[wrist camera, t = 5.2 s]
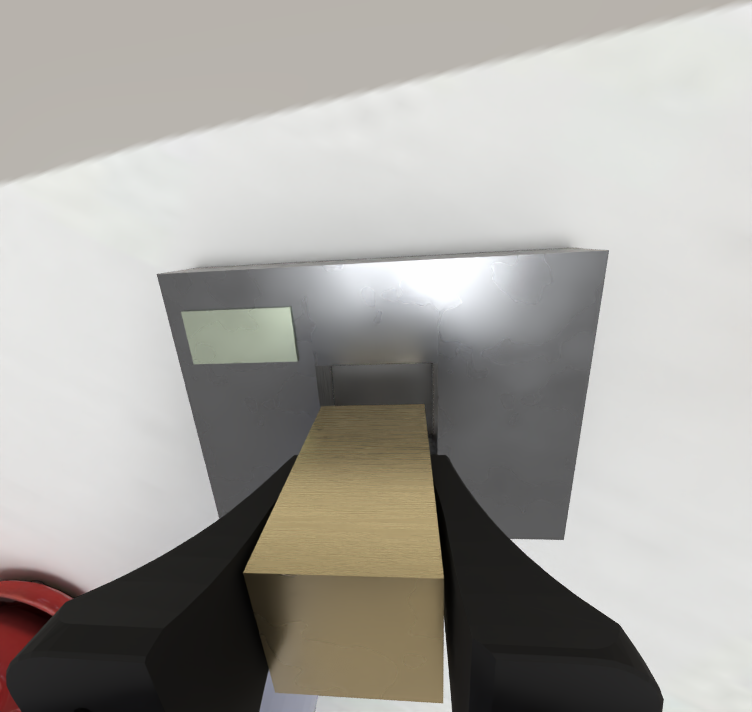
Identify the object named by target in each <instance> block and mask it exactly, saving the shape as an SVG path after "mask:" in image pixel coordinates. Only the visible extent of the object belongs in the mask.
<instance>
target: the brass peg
mask: <svg viewBox="0 0 752 712" xmlns="http://www.w3.org/2000/svg"><path fill="white" fill-rule="evenodd" d="M243 574H244V578H245V582H246V586H247V589H248V593H249V597H250V601H251V604H252V608H253V612H254V615H255V619H256V623H257V627H258V630H259V634H260V638H261V642H262V645H263V649H264V653H265V656H266V660H267V664H268V668H269V671H270V675H271V679H272V683H273V686H274V690H275V693H287V694H303V695H319V696H335V697H351V698H367V699H383V700H399V701H415V702H431V703H443V648H444V575H443V566H442V557H441V548H440V539H439V530H438V521H437V512H436V503H435V494H434V485H433V477H432V468H431V459H430V450H429V441H428V432H427V423H426V414H425V405H424V404H406V405H352V406H321V408H320V410H319V412H318V415H317V417H316V419H315V421H314V423H313V425H312V427H311V429H310V432H309V434H308V436H307V438H306V440H305V442H304V444H303V446H302V449H301V451H300V453H299V455H298V457H297V459H296V461H295V463H294V466H293V468H292V470H291V472H290V474H289V476H288V478H287V480H286V483H285V485H284V487H283V489H282V491H281V493H280V495H279V497H278V500H277V502H276V504H275V506H274V508H273V510H272V512H271V514H270V517H269V519H268V521H267V523H266V525H265V527H264V529H263V531H262V534H261V536H260V538H259V540H258V542H257V544H256V546H255V549H254V551H253V553H252V555H251V557H250V559H249V561H248V563H247V566H246V568H245V570H244V572H243Z"/></svg>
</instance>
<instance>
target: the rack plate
mask: <svg viewBox="0 0 752 712" xmlns="http://www.w3.org/2000/svg"><path fill="white" fill-rule="evenodd" d="M608 254H609V250H596V249H582V248H559V249H540V250H522V251H503V252H484V253H466V254H447V255H428V256H410V257H391V258H372V259H354V260H335V261H316V262H298V263H279V264H260V265H242V266H223V267H204V268H193V269H187V270H180V271H174V272H167V273H161V274H157V277H158V281H159V285H160V289H161V292H162V296H163V300H164V304H165V308H166V312H167V316H168V320H169V324H170V328H171V331H172V335H173V339H174V343H175V347H176V351H177V355H178V359H179V363H180V367H181V370H182V374H183V378H184V382H185V386H186V390H187V394H188V398H189V402H190V405H191V409H192V413H193V417H194V421H195V425H196V429H197V433H198V437H199V441H200V444H201V448H202V452H203V456H204V460H205V464H206V468H207V472H208V476H209V480H210V483H211V487H212V491H213V495H214V499H215V503H216V507H217V511H218V515H219V519H220V518H221V517H223V516H224V515H225V514H227V513H228V512H229V511H231V510H232V509H233V508H234V507H236V506H237V505H238V504H239V503H240V502H242V501H243V500H244V499H245V498H247V497H248V496H249V495H250V494H251V493H253V492H254V491H255V490H256V489H257V488H258V487H260V486H261V485H262V484H263V483H264V482H265V481H266V480H267V479H268V478H270V477H271V476H272V475H273V474H274V473H275V472H276V471H277V470H278V469H279V468H280V467H281V466H283V465H284V464H285V463H286V462H287V461H288V460H289V459H290V458H291V457H293V456H294V455H299V453H300V451H301V449H302V446H303V444H304V442H305V440H306V438H307V436H308V434H309V432H310V429H311V427H312V425H313V423H314V421H315V419H316V417H317V415H318V412H319V410H320V408H321V406H335V399H334V390H333V380H332V371H331V366H332V365H371V364H411V363H433V434H428V441H429V450H430V455H446V456H447V457H449V459H450V461H451V463H452V465H453V467H454V468H455V470H456V472H457V473H458V475H459V477H460V478H461V480H462V481H463V483H464V484H465V486H466V487H467V488H468V490H469V491H470V493H471V494H472V495H473V497H474V498H475V499H476V501H477V502H478V503H479V505H480V506H481V507H482V508H483V510H484V511H485V512H486V513H487V514H488V516H489V517H490V518H491V519H492V520H493V521H494V523H495V524H496V525H497V526H498V527H499V528H500V529H501V530H502V531H503V532H504V533H505V535H506V536H507V537H508V538H509V539H548V540H564V535H565V528H566V522H567V515H568V509H569V503H570V496H571V490H572V483H573V477H574V471H575V464H576V458H577V452H578V445H579V439H580V432H581V426H582V420H583V413H584V407H585V400H586V394H587V388H588V381H589V375H590V368H591V362H592V356H593V349H594V343H595V337H596V330H597V324H598V317H599V311H600V305H601V298H602V292H603V285H604V279H605V273H606V266H607V260H608Z"/></svg>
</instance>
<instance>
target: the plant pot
mask: <svg viewBox="0 0 752 712" xmlns="http://www.w3.org/2000/svg"><path fill="white" fill-rule="evenodd" d="M71 599H73V598H72V597H70V596H68V595H67V594H65V593H63V592H61V591H59V590H57V589H54V588H52V587H49V586H45V585H44V584H43V583H42V582H40V581H33V582H27V581H17V580H14V581H0V712H21V710H20V709H19V707H18V706H17V704H16V703H15V701H14V700H13V698H12V696H11V694H10V692H9V690H8V688H7V686H6V670H7V668H8V666H9V664H10V662H11V661H12V660H13V659H14V657H15V656H16V655H17V654H18V653H19V652H20V651H21V650H22V649H23V648H24V647H25V646H26V644H27V643H28V642H29V641H30V640H31V639H32V638H33V637H34V636H35V635H36V634H37V633H38V631H39V630H40V629H41V628H42V627H43V626H44V625H45V624H46V623H47V622H48V621H49V620H50V618H51V617H52V616H53V615H54V614H55V613H56V612H57V611H58V610H59V609H60V608H61V607H62V606H63V604H64V603H65V602H67V601H69V600H71Z"/></svg>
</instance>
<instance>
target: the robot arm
mask: <svg viewBox="0 0 752 712" xmlns="http://www.w3.org/2000/svg"><path fill="white" fill-rule="evenodd" d="M297 457H298V455H294V456H293V457H291V458H290V459H289V460H288V461H287V462H286V463H285V464H284V465H283V466H281V467H280V468H279V469H278V470H277V471H276V472H275V473H274V474H273V475H272V476H271V477H270V478H268V479H267V480H266V481H265V482H264V483H263V484H262V485H261V486H260V487H258V488H257V489H256V490H255V491H254V492H253V493H251V494H250V495H249V496H248V497H247V498H245V499H244V500H243V501H242V502H240V503H239V504H238V505H237V506H236V507H234V508H233V509H232V510H231V511H229V512H228V513H227V514H225V515H224V516H223V517H221V518H220V519H219V520H217V521H216V522H215V523H213V524H212V525H210V526H209V527H207V528H206V529H204V530H203V531H201V532H200V533H198V534H197V535H195V536H194V537H192V538H190V539H189V540H187V541H186V542H184V543H182V544H181V545H179V546H177V547H176V548H174V549H172V550H171V551H169V552H167V553H166V554H164V555H162V556H161V557H159V558H157V559H155V560H153V561H151V562H149V563H148V564H146V565H144V566H142V567H140V568H138V569H136V570H134V571H132V572H130V573H128V574H126V575H124V576H122V577H120V578H118V579H116V580H114V581H112V582H110V583H107V584H105V585H103V586H101V587H98V588H96V589H94V590H92V591H90V592H87V593H85V594H83V595H81V596H78V597H76V598H74V599H71V600H69V601H67V602H65V603H64V604H63V606H62V607H61V608H60V609H59V610H58V611H57V612H56V613H55V614H54V615H53V616H52V617H51V618H50V620H49V621H48V622H47V623H46V624H45V625H44V626H43V627H42V628H41V629H40V630H39V631H38V633H37V634H36V635H35V636H34V637H33V638H32V639H31V640H30V641H29V642H28V643H27V644H26V646H25V647H24V648H23V649H22V650H21V651H20V652H19V653H18V654H17V655H16V656H15V657H14V659H13V660H12V661H11V662H10V664H9V666H8V668H7V670H6V686H7V688H8V690H9V692H10V694H11V696H12V698H13V700H14V701H15V703H16V704H17V706H18V707H19V709H20V710H21V712H315V709H316V704H317V699H318V695H303V694H287V693H275V690H274V686H273V683H272V679H271V675H270V671H269V668H268V664H267V660H266V656H265V653H264V649H263V645H262V642H261V638H260V634H259V630H258V627H257V623H256V619H255V615H254V612H253V608H252V604H251V601H250V597H249V593H248V589H247V586H246V582H245V578H244V574H243V572H244V570H245V568H246V566H247V563H248V561H249V559H250V557H251V555H252V553H253V551H254V549H255V546H256V544H257V542H258V540H259V538H260V536H261V534H262V531H263V529H264V527H265V525H266V523H267V521H268V519H269V517H270V514H271V512H272V510H273V508H274V506H275V504H276V502H277V500H278V497H279V495H280V493H281V491H282V489H283V487H284V485H285V483H286V480H287V478H288V476H289V474H290V472H291V470H292V468H293V466H294V463H295V461H296V459H297ZM430 459H431V468H432V477H433V485H434V494H435V503H436V512H437V521H438V530H439V539H440V548H441V557H442V566H443V575H444V622H445V633H446V644H447V655H448V667H449V679H450V690H451V702H452V712H662V709H663V700H664V699H663V696H662V694H661V691H660V688H659V686H658V684H657V682H656V681H655V679H654V677H653V675H652V674H651V672H650V670H649V668H648V666H647V665H646V663H645V661H644V660H643V658H642V657H641V655H640V654H639V652H638V651H637V649H636V648H635V646H634V645H633V643H632V642H631V641H630V639H629V638H628V636H627V635H626V633H625V632H624V630H623V629H622V627H621V626H620V625H619V624H618V623H616V622H615V621H613V620H612V619H610V618H609V617H607V616H606V615H604V614H603V613H601V612H600V611H598V610H597V609H596V608H594V607H593V606H591V605H590V604H588V603H587V602H585V601H584V600H582V599H581V598H579V597H578V596H576V595H575V594H574V593H572V592H571V591H570V590H568V589H567V588H566V587H564V586H563V585H562V584H561V583H559V582H558V581H557V580H555V579H554V578H553V577H551V576H550V575H549V574H548V573H547V572H546V571H544V570H543V569H542V568H541V567H540V566H539V565H537V564H536V563H535V562H534V561H533V560H532V559H530V558H529V557H528V556H527V555H526V554H525V553H524V552H523V551H522V550H521V549H520V548H519V547H517V546H516V545H515V544H514V543H513V542H512V541H511V540H510V539H509V538H508V537H507V536H506V535H505V533H504V532H503V531H502V530H501V529H500V528H499V527H498V526H497V525H496V524H495V523H494V521H493V520H492V519H491V518H490V517H489V516H488V514H487V513H486V512H485V511H484V510H483V508H482V507H481V506H480V505H479V503H478V502H477V501H476V499H475V498H474V497H473V495H472V494H471V493H470V491H469V490H468V488H467V487H466V486H465V484H464V483H463V481H462V480H461V478H460V477H459V475H458V473H457V472H456V470H455V468H454V467H453V465H452V463H451V461H450V459H449V457H447V456H446V455H430Z"/></svg>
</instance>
